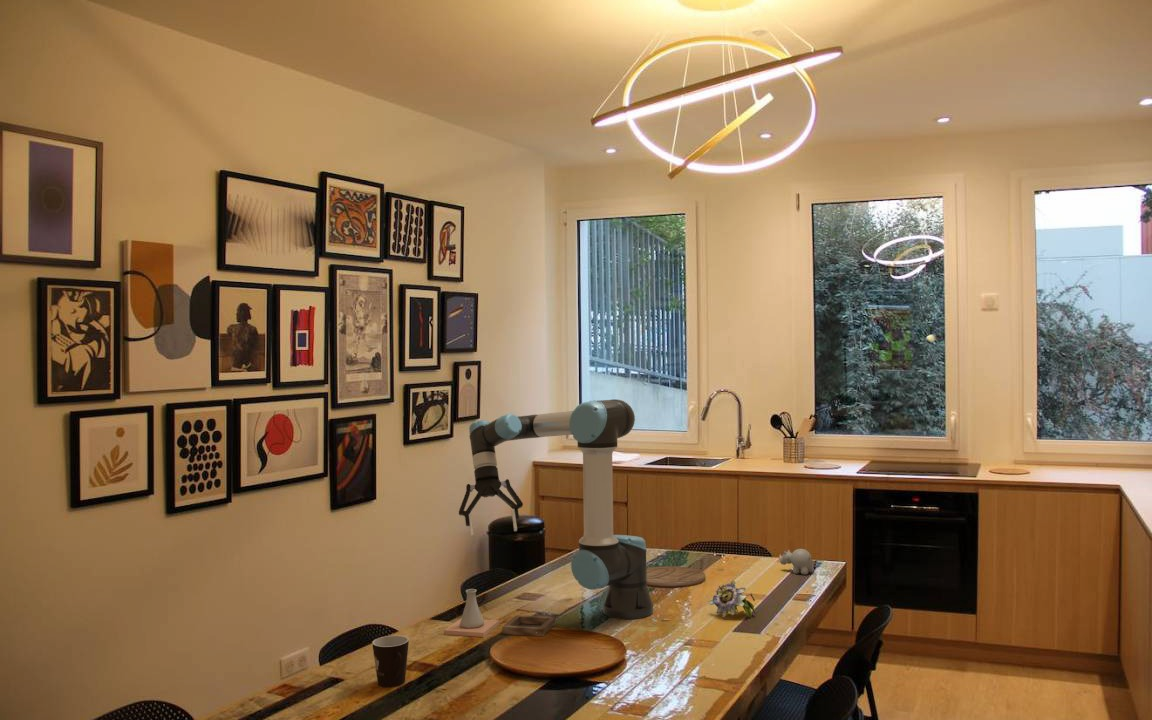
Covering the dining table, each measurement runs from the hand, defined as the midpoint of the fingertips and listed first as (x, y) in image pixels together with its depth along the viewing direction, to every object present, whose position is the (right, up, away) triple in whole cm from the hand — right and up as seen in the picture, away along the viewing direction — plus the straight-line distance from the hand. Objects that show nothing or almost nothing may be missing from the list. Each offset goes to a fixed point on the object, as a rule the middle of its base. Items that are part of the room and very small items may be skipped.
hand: (494, 533), depth 275 cm
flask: (-4, -22, -22) cm, 32 cm away
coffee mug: (-19, -24, -65) cm, 71 cm away
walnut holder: (+12, -23, -22) cm, 34 cm away
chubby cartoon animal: (+103, -21, +38) cm, 112 cm away
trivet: (+58, -23, +32) cm, 70 cm away
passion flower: (+72, -22, -13) cm, 77 cm away
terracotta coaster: (-4, -23, -22) cm, 32 cm away
